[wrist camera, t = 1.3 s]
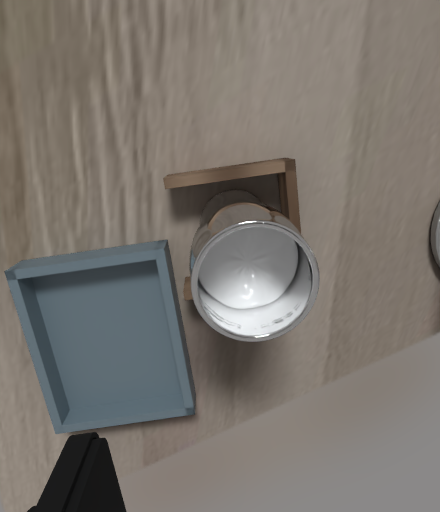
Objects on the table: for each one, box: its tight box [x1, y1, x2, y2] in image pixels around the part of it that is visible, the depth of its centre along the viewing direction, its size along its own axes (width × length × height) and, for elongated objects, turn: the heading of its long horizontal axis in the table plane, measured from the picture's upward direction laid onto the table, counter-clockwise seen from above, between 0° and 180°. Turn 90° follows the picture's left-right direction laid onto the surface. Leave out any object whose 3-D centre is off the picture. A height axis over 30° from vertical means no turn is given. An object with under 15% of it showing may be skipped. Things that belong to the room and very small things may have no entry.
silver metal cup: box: [189, 190, 320, 342], centre depth 27 cm, size 7×7×15 cm
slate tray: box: [4, 240, 196, 434], centre depth 35 cm, size 13×16×3 cm
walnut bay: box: [163, 158, 301, 300], centre depth 32 cm, size 10×10×4 cm
